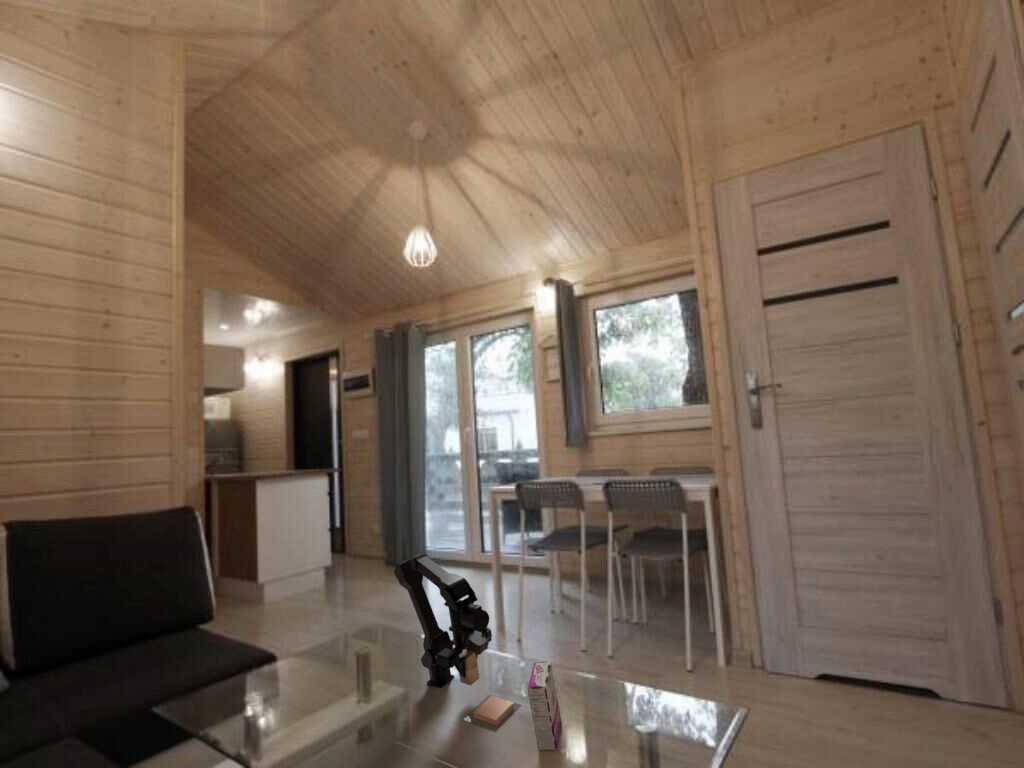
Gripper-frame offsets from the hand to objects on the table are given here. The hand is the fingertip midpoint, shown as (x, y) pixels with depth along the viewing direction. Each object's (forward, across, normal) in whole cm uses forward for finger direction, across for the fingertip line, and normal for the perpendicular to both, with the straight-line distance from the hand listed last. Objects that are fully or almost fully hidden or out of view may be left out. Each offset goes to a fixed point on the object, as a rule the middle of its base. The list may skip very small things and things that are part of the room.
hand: (468, 673), depth 162 cm
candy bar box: (+7, -4, -30) cm, 31 cm away
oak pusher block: (+2, 0, 0) cm, 2 cm away
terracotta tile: (+6, -3, -7) cm, 10 cm away
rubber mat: (+7, -3, -10) cm, 13 cm away
